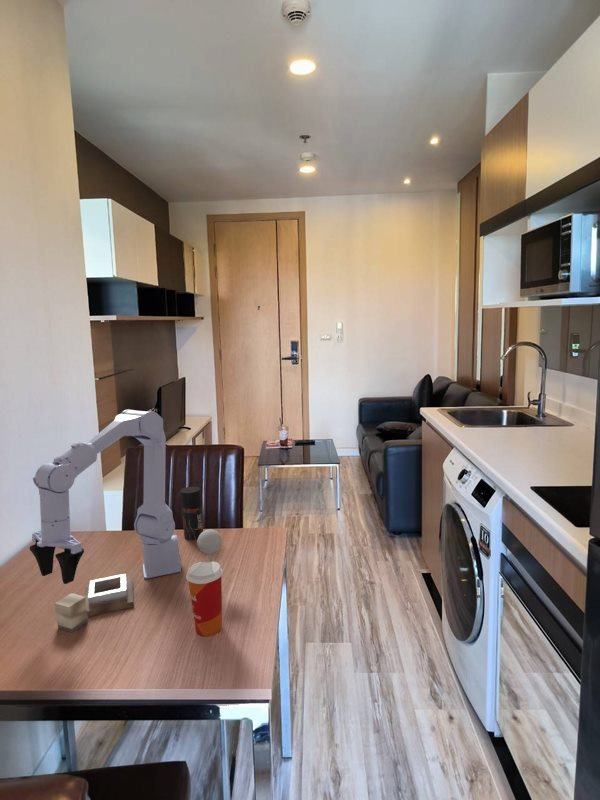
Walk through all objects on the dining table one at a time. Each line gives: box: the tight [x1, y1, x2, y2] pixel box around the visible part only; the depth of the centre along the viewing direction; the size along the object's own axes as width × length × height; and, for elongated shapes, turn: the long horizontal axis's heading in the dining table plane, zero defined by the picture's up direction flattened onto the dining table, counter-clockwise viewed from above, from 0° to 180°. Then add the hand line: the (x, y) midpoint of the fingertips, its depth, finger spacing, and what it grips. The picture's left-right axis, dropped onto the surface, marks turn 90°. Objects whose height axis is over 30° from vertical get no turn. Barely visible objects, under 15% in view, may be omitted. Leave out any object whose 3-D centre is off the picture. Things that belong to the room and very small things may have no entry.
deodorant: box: [179, 486, 204, 541], centre depth 156 cm, size 6×6×15 cm
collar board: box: [84, 573, 135, 617], centre depth 123 cm, size 11×12×4 cm
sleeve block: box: [54, 592, 89, 633], centre depth 113 cm, size 4×4×6 cm
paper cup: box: [185, 560, 224, 637], centre depth 108 cm, size 8×8×14 cm
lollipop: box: [196, 529, 223, 562], centre depth 125 cm, size 6×6×15 cm
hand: (57, 578), depth 112 cm, fingers open, 7 cm apart
